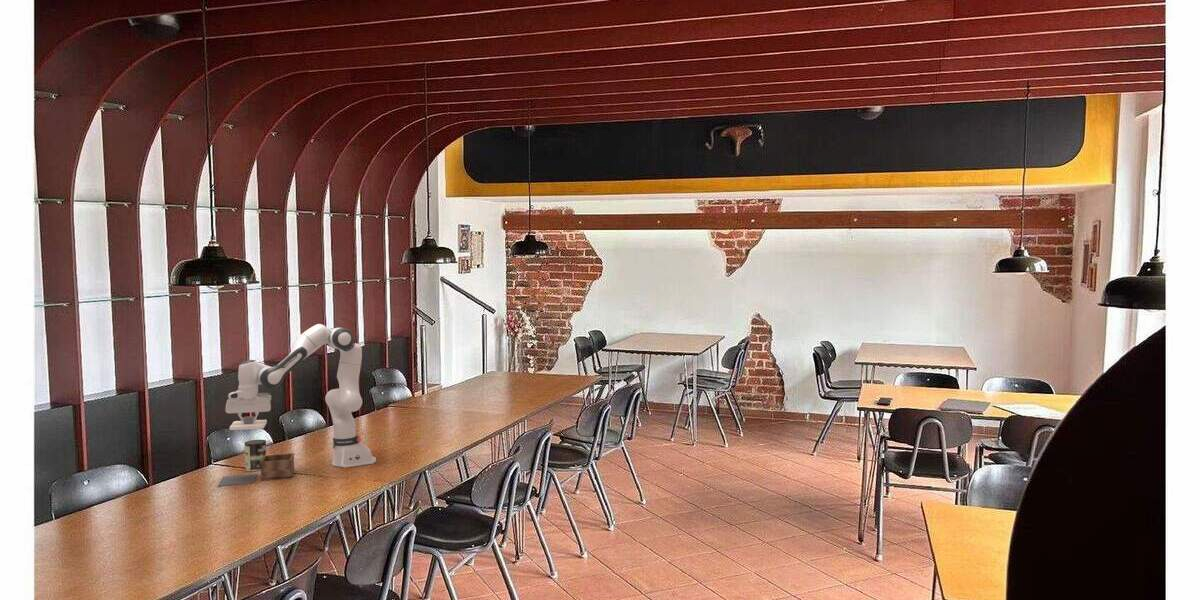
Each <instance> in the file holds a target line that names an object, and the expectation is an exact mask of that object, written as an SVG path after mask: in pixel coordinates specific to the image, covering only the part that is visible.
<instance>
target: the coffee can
mask: <svg viewBox="0 0 1200 600" xmlns="http://www.w3.org/2000/svg"><path fill="white" fill-rule="evenodd" d="M243 444H244V460H245V471H247V472H258V471H261V461H262V459H263V456H265V455H267V440H266V439H253V440H252V439H251V440H247V441H245V442H244V443H243Z"/></svg>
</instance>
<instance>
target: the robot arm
mask: <svg viewBox="0 0 1200 600" xmlns="http://www.w3.org/2000/svg"><path fill="white" fill-rule="evenodd" d="M324 345H325V346H328V347H329V348H332V349H336V350H339V353H340V357H339V363H338V368H337V373H336V379H337V381H338V385H339V386H338V387H339V388H333V389H330V390H329V391H328V392H327V393H326V394H325V398H324V399H325V400H324V401H325V403H326V405H327V406H328V408H329V412H330V415H331V420H332V426H333V437H332V448H333V455H332V461H331V466H333V467H340V468H352V467H353V468H354V467H361V466H366V465H373V464H375V463H376V462H377V457H375V456H373V455H372V450H371V448H369V447H368V446H366V445H365V444H363V443H362V442H361V441H362V440H361V437H360V436H359V435H356V434H357V433H356V432H357V431H356V420H355V418H354V416H353V414H352V413H354V412H357V411H359V410H360V409H361V407H362V406H363V398H362V396H361V393H360V385H359V383H360V382H359V380H360V374H361V367H362V359H363V348H362V346H361V345H360V344H358V343H356V341H355V338H354V335H353V333H352V332H351V330H349V329H347V328H345V327H333V328H328V327H327V326H326V325H324V324H321V323H317V324H314V325H313V326H311V327H310V328H308V329H306V330H304V332H302V333H301V334H300V335H298V337H296V338H295V339H294V341H293V342H292V345H291V351H290V353H289V354H288V355H287V356H286V357H285V358H284V359H282V361H280V362H279V363H278V364H277V365H274V366H270V365H267V364H264V363H261V362H259V361H257V360H256V359H250V360H249V359H248V360H245V361H242V362H241V363H239V365H238V374H237V376H238V377H237V378H238V379H237V380H238V386H237V387H238V389H237V390H235V391H232V392H230V393H228V395H227V398H228V399H227V400H226V404H225V409H224V411H225V413H226V414H237V416H238V417H239V419H240V421H241V422H244V417H243V414H244V413H254V414H255V416H254V417H253V421H256V420H257V417H258V416H259V414H260V413H265V412H270V411H271V408H272V405H271V402H272V395H271V393H269V392H259V385H262V386H263V387H264V388H266V389H270V390H271V389H272V390H273V389H276V388H278V387H280V385H281V384H282V383H283V381H284V380H285V378H286V377H287V375H288V374H289V373H290V372H291V371H293V369H295V368H296V367H297V366H298V365H299V364H300V363H301V362H302V361H304V360H305V359H306V358H308V357H309V356H310V355H312V354H313V353H315V352H316V351H317V350H318V349H319V348H321V347H322V346H324Z"/></svg>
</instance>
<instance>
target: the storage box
mask: <svg viewBox="0 0 1200 600" xmlns="http://www.w3.org/2000/svg"><path fill="white" fill-rule="evenodd" d="M294 455H295V453H294V452H293V453H291V452H290V453H279V454H266V455H265V456H263V459H262V461H261V470H260V474H261V475H260V476H261V477H260V478H261V481H271V480H283V479H293V476H294V472H295V456H294Z"/></svg>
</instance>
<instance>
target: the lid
mask: <svg viewBox="0 0 1200 600" xmlns="http://www.w3.org/2000/svg"><path fill="white" fill-rule="evenodd" d="M253 417H255V416H253V415H252V416H244V417H243V418H244V422H241V420H235V421H233V422H232V423H231V425H230V426H229V431H237V430H239V431H240V430H241V431H242V430H257V429H258V430H260V429H265V427H266V425H267V423H268V420H267V419H256V421H253Z"/></svg>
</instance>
